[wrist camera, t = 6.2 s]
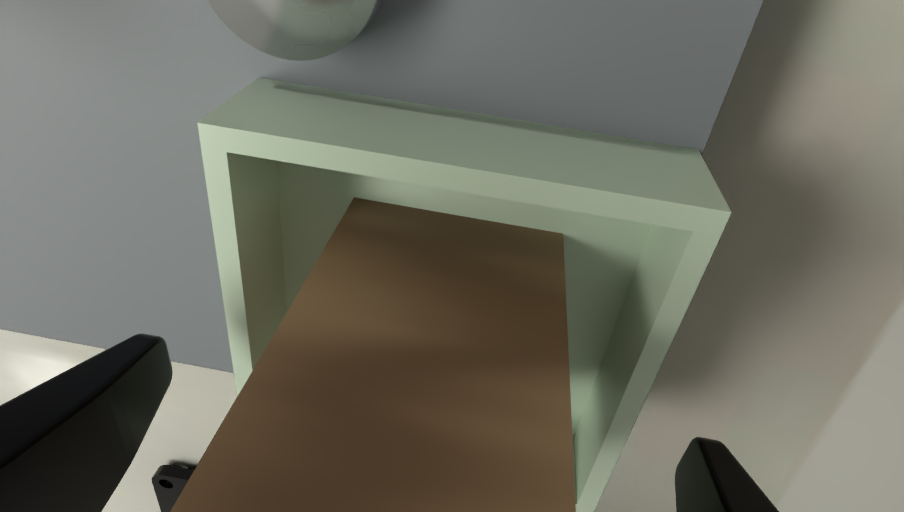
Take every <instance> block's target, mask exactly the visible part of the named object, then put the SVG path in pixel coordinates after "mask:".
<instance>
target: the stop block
mask: <svg viewBox="0 0 904 512" xmlns="http://www.w3.org/2000/svg"><path fill="white" fill-rule="evenodd" d="M170 512H576V506H575V484H574V462H573V440H572V417H571V395H570V373H569V351H568V328H567V306H566V284H565V262H564V239H563V234H562V233H557V232H551V231H545V230H539V229H534V228H528V227H522V226H516V225H511V224H505V223H499V222H493V221H488V220H482V219H476V218H470V217H465V216H459V215H453V214H447V213H442V212H436V211H430V210H424V209H418V208H413V207H407V206H401V205H395V204H390V203H384V202H378V201H372V200H367V199H361V198H355V197H354V198H353V200H352V202H351V203H350V205H349V207H348V208H347V210H346V212H345V214H344V215H343V217H342V219H341V220H340V222H339V224H338V226H337V227H336V229H335V231H334V232H333V234H332V236H331V238H330V239H329V241H328V243H327V244H326V246H325V248H324V249H323V251H322V253H321V255H320V256H319V258H318V260H317V261H316V263H315V265H314V267H313V268H312V270H311V272H310V273H309V275H308V277H307V279H306V280H305V282H304V284H303V285H302V287H301V289H300V291H299V292H298V294H297V296H296V297H295V299H294V301H293V302H292V304H291V306H290V308H289V309H288V311H287V313H286V314H285V316H284V318H283V320H282V321H281V323H280V325H279V326H278V328H277V330H276V332H275V333H274V335H273V337H272V338H271V340H270V342H269V344H268V345H267V347H266V349H265V350H264V352H263V354H262V355H261V357H260V359H259V361H258V362H257V364H256V366H255V367H254V369H253V371H252V373H251V374H250V376H249V378H248V379H247V381H246V383H245V385H244V386H243V388H242V390H241V391H240V393H239V395H238V397H237V398H236V400H235V402H234V403H233V405H232V407H231V408H230V410H229V412H228V414H227V415H226V417H225V419H224V420H223V422H222V424H221V426H220V427H219V429H218V431H217V432H216V434H215V436H214V438H213V439H212V441H211V443H210V444H209V446H208V448H207V450H206V451H205V453H204V455H203V456H202V458H201V460H200V461H199V463H198V465H197V467H196V468H195V470H194V472H193V473H192V475H191V477H190V479H189V480H188V482H187V484H186V485H185V487H184V489H183V491H182V492H181V494H180V496H179V497H178V499H177V501H176V502H175V504H174V506H173V508H172V509H171V511H170Z"/></svg>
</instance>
